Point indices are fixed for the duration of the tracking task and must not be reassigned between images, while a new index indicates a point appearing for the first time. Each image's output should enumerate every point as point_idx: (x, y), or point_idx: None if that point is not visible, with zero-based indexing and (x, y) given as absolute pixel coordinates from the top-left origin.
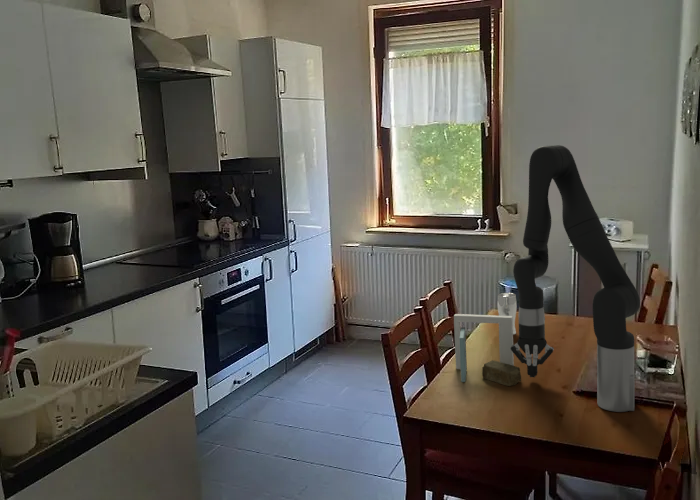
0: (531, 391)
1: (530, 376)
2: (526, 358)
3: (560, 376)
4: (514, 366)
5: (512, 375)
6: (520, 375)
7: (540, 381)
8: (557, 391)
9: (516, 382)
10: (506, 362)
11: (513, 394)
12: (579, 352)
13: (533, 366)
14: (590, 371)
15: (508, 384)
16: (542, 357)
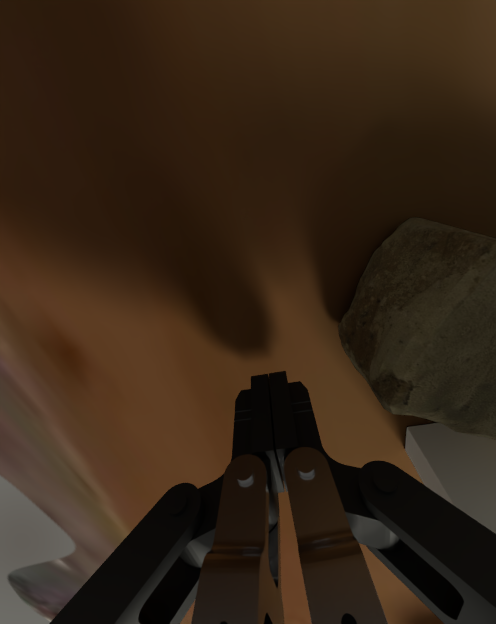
0: (212, 191)
1: (279, 373)
2: (351, 535)
3: (163, 460)
4: (444, 412)
5: (429, 278)
6: (353, 354)
7: (226, 379)
8: (54, 273)
9: (362, 279)
10: (490, 483)
11: (340, 23)
12: None
13: (258, 448)
14: (86, 525)
15: (422, 218)
16: (137, 593)
